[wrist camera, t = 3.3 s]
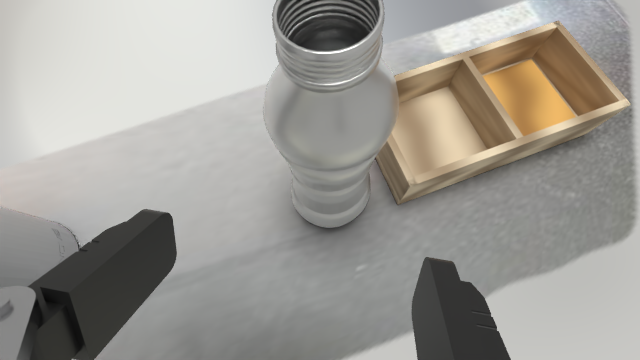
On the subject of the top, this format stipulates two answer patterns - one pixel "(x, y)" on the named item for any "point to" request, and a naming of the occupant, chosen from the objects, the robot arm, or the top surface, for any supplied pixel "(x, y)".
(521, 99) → the tray
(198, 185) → the top surface
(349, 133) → the plastic bottle
